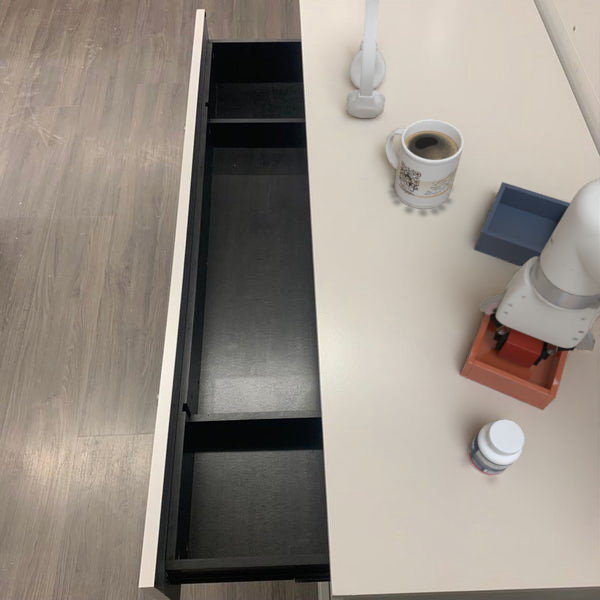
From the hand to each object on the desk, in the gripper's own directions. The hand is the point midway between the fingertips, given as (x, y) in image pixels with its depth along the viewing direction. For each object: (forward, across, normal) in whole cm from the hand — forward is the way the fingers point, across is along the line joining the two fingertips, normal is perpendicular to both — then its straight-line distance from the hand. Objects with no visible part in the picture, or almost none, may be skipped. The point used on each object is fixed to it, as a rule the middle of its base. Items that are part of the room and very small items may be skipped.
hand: (518, 348), depth 73 cm
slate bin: (+3, +5, -22) cm, 23 cm away
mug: (+3, +24, -26) cm, 35 cm away
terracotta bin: (+3, 0, 0) cm, 3 cm away
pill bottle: (+3, -1, +15) cm, 15 cm away
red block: (0, 0, 0) cm, 0 cm away
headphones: (+3, +41, -42) cm, 59 cm away
